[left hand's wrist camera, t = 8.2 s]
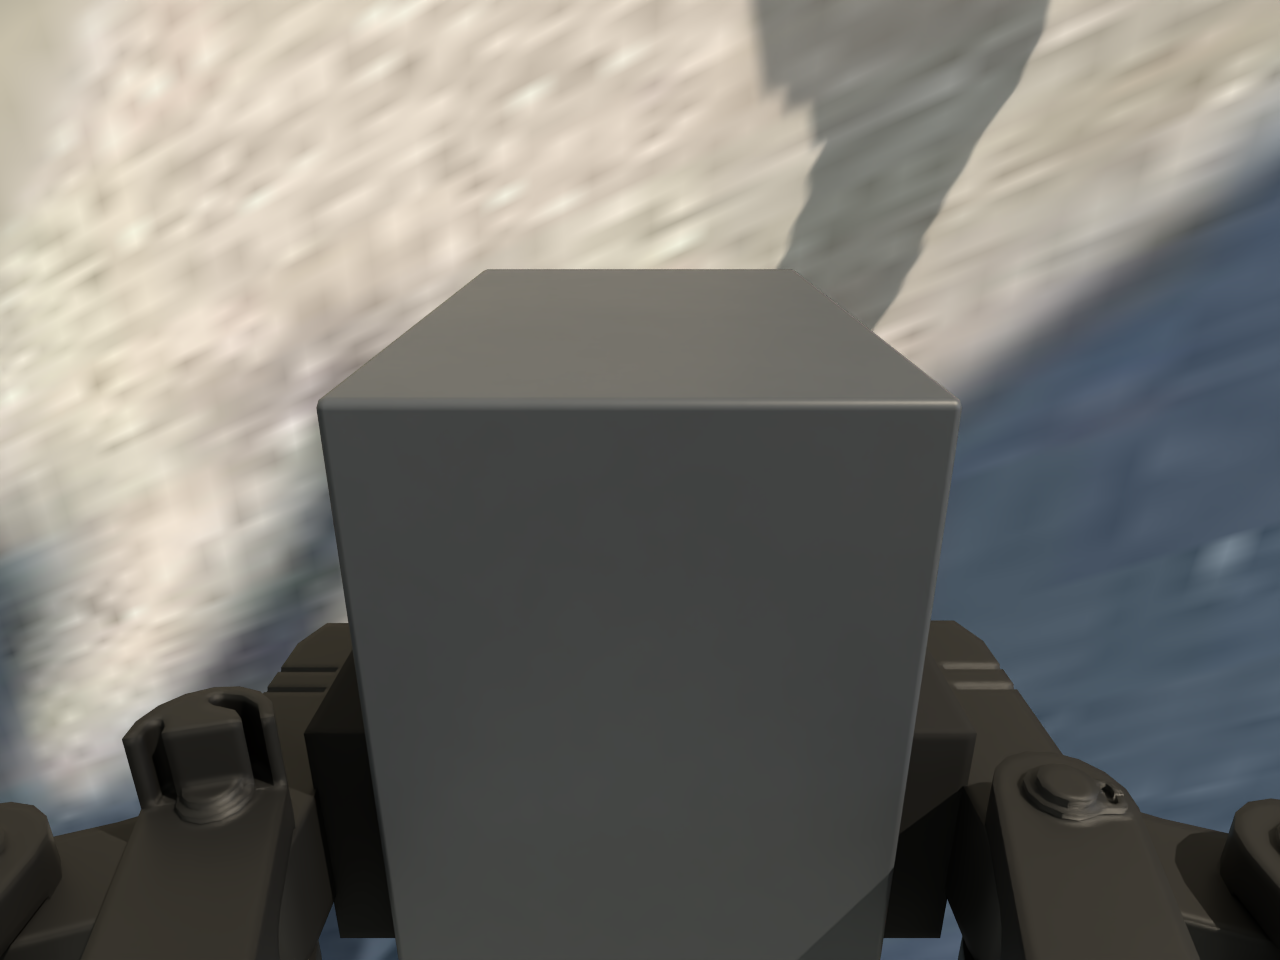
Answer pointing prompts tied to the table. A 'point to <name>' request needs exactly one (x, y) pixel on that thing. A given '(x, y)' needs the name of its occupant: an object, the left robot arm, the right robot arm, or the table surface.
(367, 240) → the table surface
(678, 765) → the beam
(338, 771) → the left robot arm
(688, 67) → the table surface
